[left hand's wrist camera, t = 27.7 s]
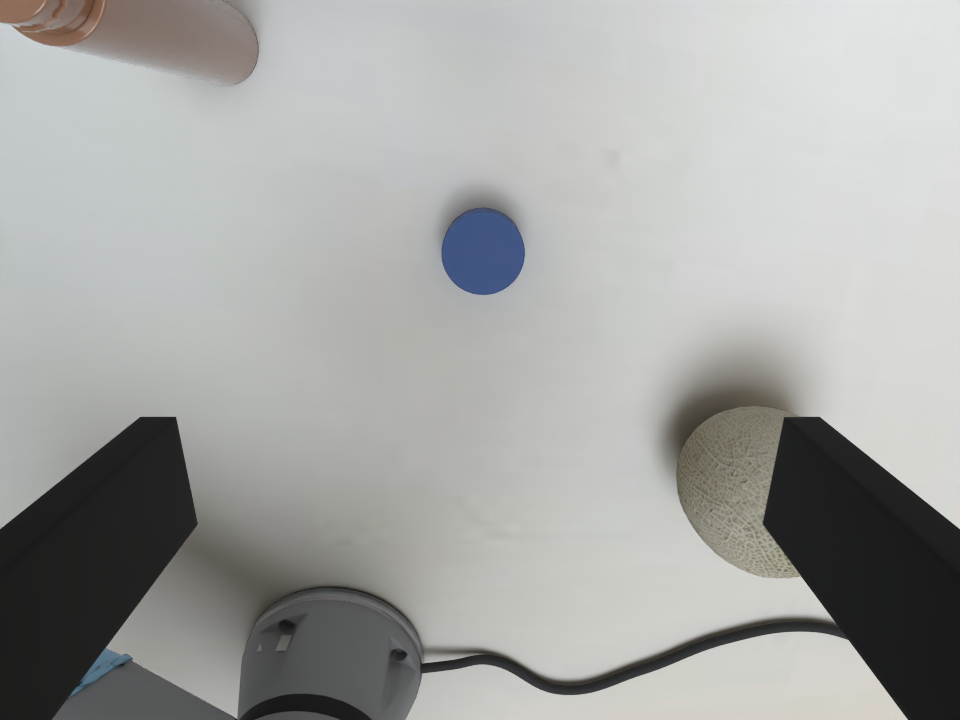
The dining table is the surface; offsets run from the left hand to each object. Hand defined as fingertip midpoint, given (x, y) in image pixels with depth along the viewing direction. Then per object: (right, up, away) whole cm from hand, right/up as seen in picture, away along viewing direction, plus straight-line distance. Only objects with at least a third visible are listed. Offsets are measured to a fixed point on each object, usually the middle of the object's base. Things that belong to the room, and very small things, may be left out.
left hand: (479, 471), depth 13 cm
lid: (0, +9, +24) cm, 26 cm away
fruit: (+19, -4, +31) cm, 37 cm away
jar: (-16, +21, +22) cm, 34 cm away
